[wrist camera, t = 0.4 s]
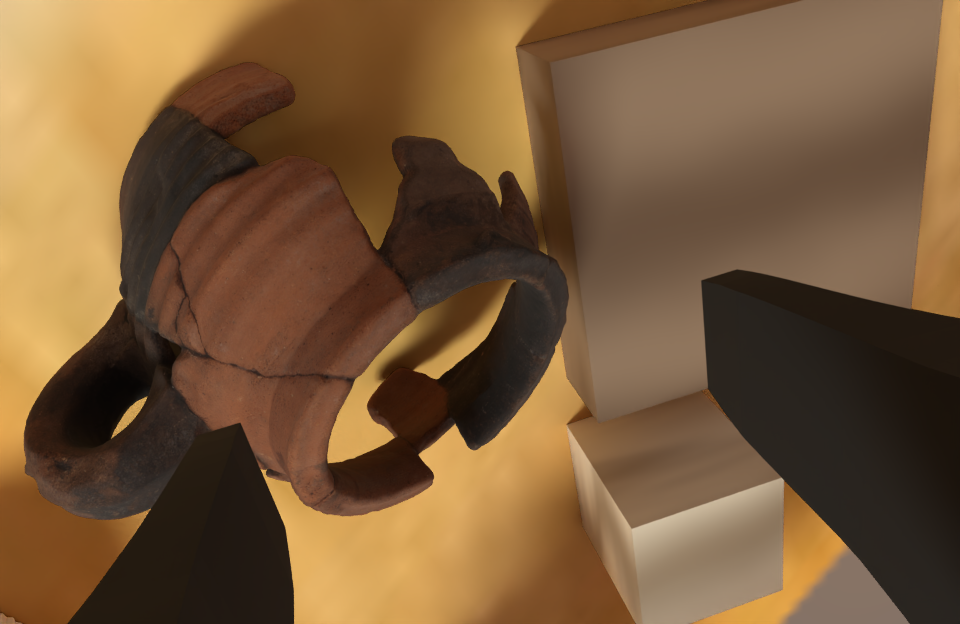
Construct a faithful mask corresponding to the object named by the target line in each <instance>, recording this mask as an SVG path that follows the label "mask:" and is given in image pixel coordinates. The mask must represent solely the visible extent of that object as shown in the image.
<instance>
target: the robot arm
mask: <svg viewBox="0 0 960 624" xmlns="http://www.w3.org/2000/svg"><path fill="white" fill-rule="evenodd" d="M701 287H702V303H703V319H704V334H705V350H706V366H707V382H708V389H709V391H710V392H711V394H712V395H713V396H714V398H715V399H716V401H717V402H718V404H719V405H720V407H721V408H722V409H723V411H724V412H725V414H726V415H727V417H728V418H729V419H730V421H731V422H732V423H733V425H734V426H735V427H736V429H737V430H738V431H739V433H740V434H741V435H742V436H743V438H744V439H745V440H746V441H747V442H748V443H749V444H750V445H751V446H752V447H753V448H754V449H755V450H756V451H757V453H758V454H759V455H760V456H761V457H762V458H763V459H764V460H765V461H766V462H767V463H768V464H769V465H770V466H771V467H772V468H773V469H774V470H775V471H776V472H777V473H778V474H779V476H780V477H781V478H782V479H783V480H784V481H785V482H786V483H787V484H788V485H789V486H790V487H791V488H792V489H793V490H794V491H795V492H796V493H797V494H798V495H799V496H800V497H801V498H802V499H803V500H804V501H805V502H806V503H807V504H808V505H809V506H810V507H811V508H812V509H813V510H814V511H815V512H816V513H817V514H818V516H819V517H820V518H821V519H822V520H823V521H824V522H825V523H826V524H827V525H828V526H829V527H830V528H831V529H832V530H833V531H834V532H835V533H836V534H837V535H838V536H839V537H840V538H841V539H842V540H843V542H844V543H845V544H846V545H847V546H848V547H849V548H850V549H851V551H852V552H853V553H854V554H855V555H856V556H857V557H858V558H859V559H860V560H861V562H862V563H863V564H864V566H865V567H866V568H867V569H868V571H869V572H870V573H871V575H873V577H874V578H875V580H876V581H877V582H878V583H879V585H880V586H881V587H882V588H883V590H884V591H885V592H886V593H887V595H888V596H889V597H890V599H891V600H892V601H893V602H894V604H895V605H896V606H897V608H898V609H899V610H900V611H901V613H902V614H903V615H904V616H905V618H906V619H907V621H908V622H909V623H910V624H960V318H955V317H949V316H944V315H939V314H934V313H929V312H924V311H919V310H914V309H909V308H904V307H899V306H895V305H890V304H886V303H881V302H877V301H872V300H868V299H864V298H860V297H856V296H852V295H848V294H844V293H839V292H836V291H832V290H828V289H824V288H820V287H816V286H812V285H808V284H804V283H800V282H796V281H792V280H788V279H784V278H780V277H775V276H771V275H767V274H762V273H757V272H752V271H745V270H738V269H736V270H733V271H730V272H727V273H723V274H720V275H717V276H714V277H710V278H707V279H704V280H701ZM67 624H294V588H293V580H292V572H291V564H290V557H289V550H288V543H287V536H286V529H285V526H284V523H283V521H282V519H281V516H280V514H279V512H278V509H277V507H276V505H275V502H274V500H273V498H272V495H271V493H270V491H269V488H268V486H267V484H266V481H265V479H264V477H263V474H262V472H261V469H260V467H259V465H258V462H257V460H256V458H255V455H254V453H253V451H252V448H251V446H250V444H249V441H248V439H247V437H246V434H245V432H244V430H243V427H242V425H241V423H236V424H233V425H230V426H227V427H223V428H220V429H217V430H214V431H210V432H207V433H204V434H201V435H198V436H197V437H196V439H195V440H194V442H193V443H192V445H191V446H190V448H189V449H188V451H187V453H186V454H185V456H184V457H183V459H182V461H181V462H180V464H179V466H178V467H177V469H176V470H175V472H174V474H173V475H172V477H171V479H170V480H169V482H168V483H167V485H166V487H165V488H164V490H163V491H162V493H161V494H160V496H159V498H158V499H157V501H156V502H155V504H154V505H153V507H152V508H151V510H150V511H149V513H148V515H147V516H146V518H145V519H144V521H143V522H142V524H141V525H140V527H139V528H138V530H137V531H136V533H135V534H134V536H133V537H132V539H131V540H130V541H129V543H128V544H127V546H126V547H125V548H124V550H123V551H122V552H121V554H120V555H119V557H118V558H117V559H116V561H115V562H114V563H113V565H112V566H111V568H110V569H109V570H108V572H107V573H106V575H105V576H104V577H103V579H102V580H101V581H100V583H99V584H98V586H97V587H96V588H95V590H94V591H93V592H92V594H91V595H90V596H89V597H88V599H87V600H86V601H85V603H84V604H83V605H82V606H81V608H80V609H79V610H78V611H77V612H76V614H75V615H74V616H73V617H72V619H71V620H70V621H69V622H68V623H67Z"/></svg>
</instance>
